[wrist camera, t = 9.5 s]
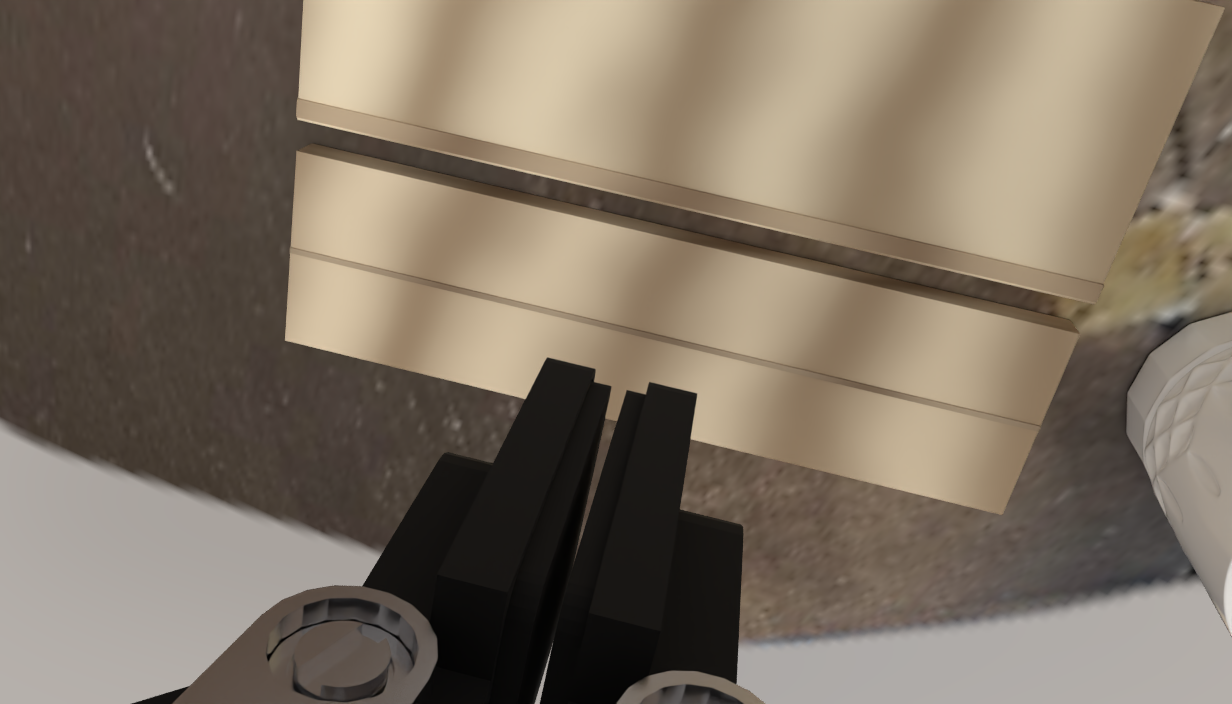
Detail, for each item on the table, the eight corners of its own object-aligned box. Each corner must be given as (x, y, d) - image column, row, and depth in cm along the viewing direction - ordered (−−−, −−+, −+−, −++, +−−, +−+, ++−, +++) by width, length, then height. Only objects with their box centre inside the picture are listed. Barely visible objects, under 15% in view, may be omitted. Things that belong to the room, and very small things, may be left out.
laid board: (1069, 319, 33) (1080, 334, 32) (995, 496, 36) (1002, 515, 35) (311, 143, 34) (295, 151, 33) (299, 327, 37) (284, 341, 36)
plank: (1208, 3, 29) (1227, 8, 27) (1083, 290, 33) (1095, 305, 31) (330, -187, 30) (311, -190, 29) (312, 112, 34) (296, 120, 33)
